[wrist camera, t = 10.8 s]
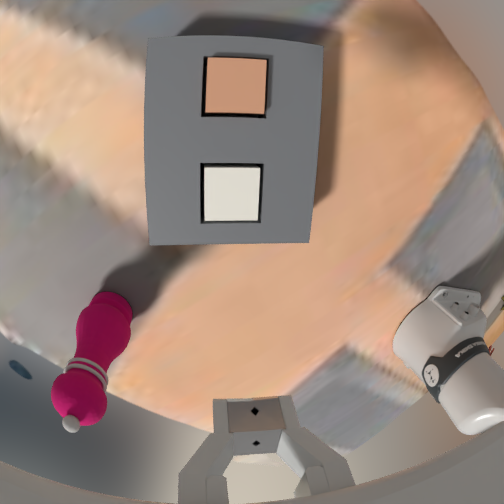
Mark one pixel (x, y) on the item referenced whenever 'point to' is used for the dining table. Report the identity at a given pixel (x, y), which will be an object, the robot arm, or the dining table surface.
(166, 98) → the button console
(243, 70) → the tan cube
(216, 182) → the cream plunger
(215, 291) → the dining table surface
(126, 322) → the pepper mill
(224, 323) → the dining table surface
